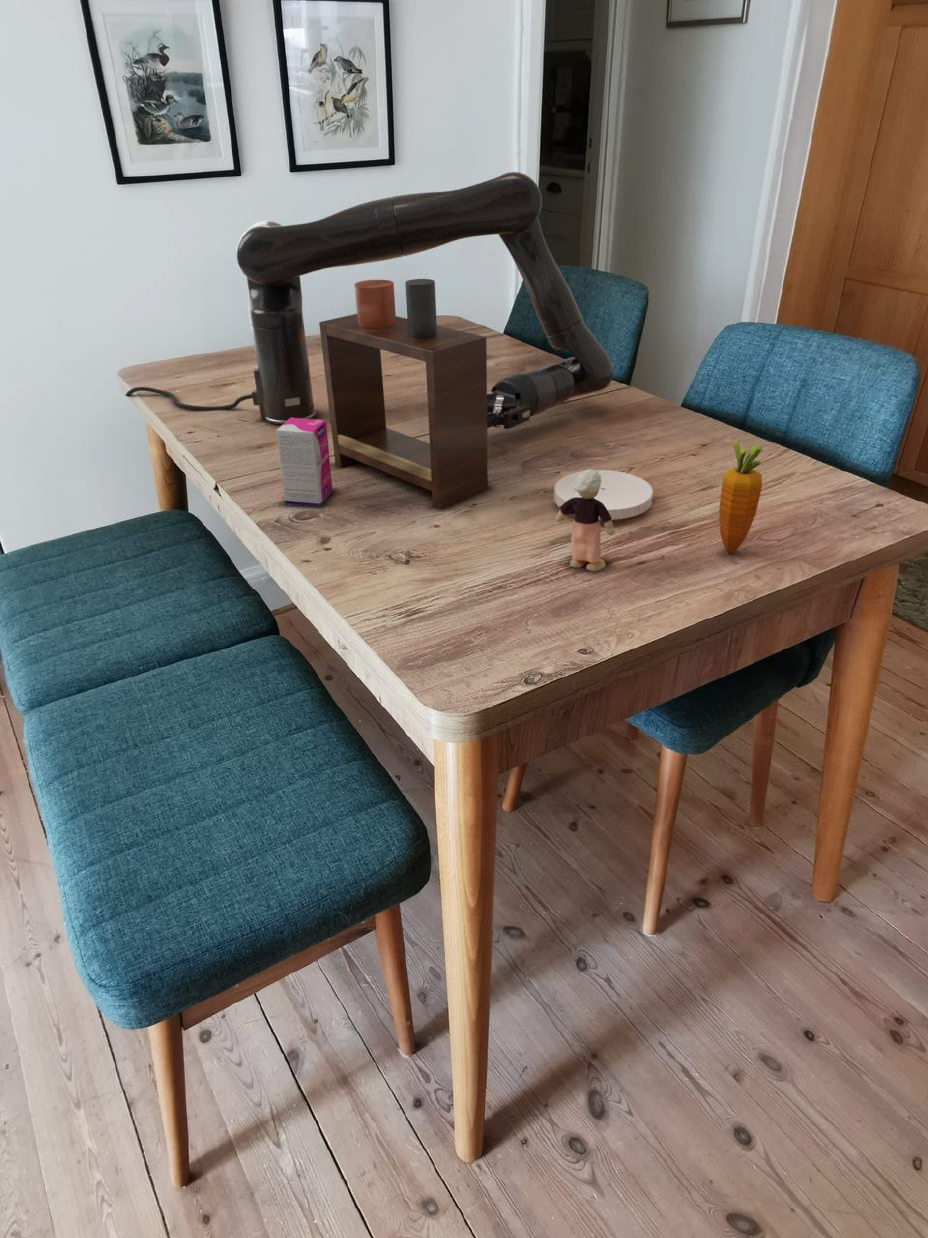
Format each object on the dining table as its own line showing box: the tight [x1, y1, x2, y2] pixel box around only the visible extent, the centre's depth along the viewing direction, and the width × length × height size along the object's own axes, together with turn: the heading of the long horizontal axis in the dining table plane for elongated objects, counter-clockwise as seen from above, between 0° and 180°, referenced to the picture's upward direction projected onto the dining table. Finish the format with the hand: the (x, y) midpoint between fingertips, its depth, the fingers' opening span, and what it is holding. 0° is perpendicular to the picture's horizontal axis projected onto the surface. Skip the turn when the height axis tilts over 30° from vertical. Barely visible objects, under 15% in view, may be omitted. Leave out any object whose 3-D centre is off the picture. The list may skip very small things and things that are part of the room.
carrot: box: [718, 441, 763, 555], centre depth 103 cm, size 5×5×15 cm
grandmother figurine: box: [555, 468, 616, 572], centre depth 103 cm, size 8×4×13 cm, turn 71°
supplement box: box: [275, 418, 333, 507], centre depth 122 cm, size 6×6×12 cm
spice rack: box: [318, 278, 489, 510], centre depth 123 cm, size 25×10×30 cm, turn 44°
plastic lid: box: [553, 469, 654, 521], centre depth 120 cm, size 14×14×2 cm
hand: (456, 419), depth 134 cm, fingers open, 8 cm apart
